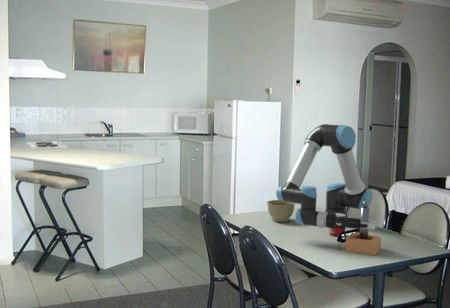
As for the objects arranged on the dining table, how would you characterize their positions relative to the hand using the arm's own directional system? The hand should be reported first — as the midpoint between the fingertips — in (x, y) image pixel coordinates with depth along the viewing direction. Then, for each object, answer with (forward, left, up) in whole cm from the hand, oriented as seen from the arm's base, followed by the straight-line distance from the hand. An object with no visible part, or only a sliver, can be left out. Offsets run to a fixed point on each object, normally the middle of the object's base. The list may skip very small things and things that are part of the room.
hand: (375, 225), depth 255 cm
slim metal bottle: (0, -5, -10) cm, 11 cm away
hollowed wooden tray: (0, -5, -12) cm, 14 cm away
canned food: (-22, -23, -13) cm, 35 cm away
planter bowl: (-39, -61, -13) cm, 74 cm away
